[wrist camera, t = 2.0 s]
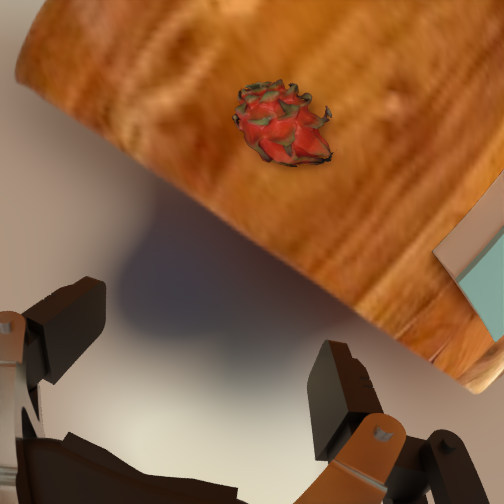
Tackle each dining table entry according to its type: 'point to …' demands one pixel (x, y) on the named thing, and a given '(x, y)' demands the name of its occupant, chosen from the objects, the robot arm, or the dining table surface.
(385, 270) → the dining table surface
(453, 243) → the tub
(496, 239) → the lid
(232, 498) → the robot arm
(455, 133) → the dining table surface
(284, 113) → the dragon fruit
